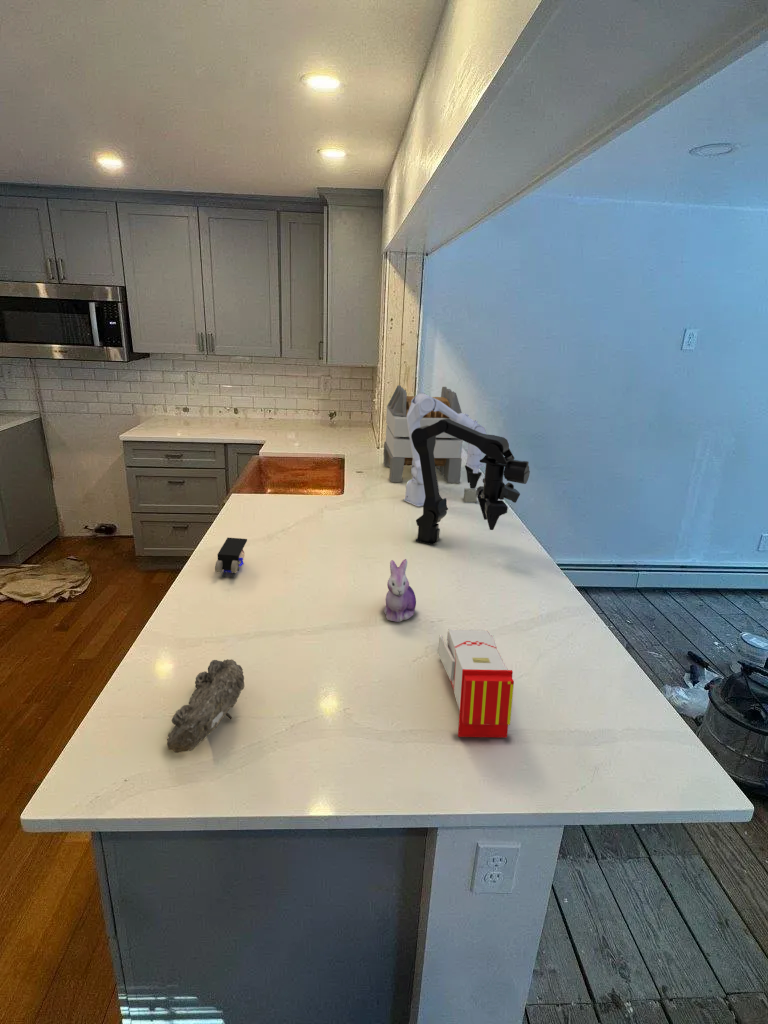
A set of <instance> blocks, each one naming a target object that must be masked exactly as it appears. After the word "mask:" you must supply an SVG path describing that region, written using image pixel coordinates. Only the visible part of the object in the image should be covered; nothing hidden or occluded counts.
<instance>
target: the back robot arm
mask: <svg viewBox="0 0 768 1024" xmlns="http://www.w3.org/2000/svg"><path fill="white" fill-rule="evenodd" d="M414 396H415V397H414V398H413V399H412V401H411V405H410V408H409V411H408V413H407V416H406V418H407V425H408V431H409V438H410V445H411V451H412V458H413V460H412V466H411V469H410V474H411V476H412V478H411V479H408V481H407V482H406V484H405V495H404V498H403V501H404V502H406V503H409V504H410V505H413V506H416V507H423V505H424V501H425V490H424V484H423V477H422V470H421V464H420V457H419V454H418V452H417V451H416V449H415V448H414V445H413V442H412V438H411V434H412V432H413V431H414V430H415V429H416V428H419V427H420V420H421V419H422V418H423V416H424V415H426V414H428V413H429V412H431V411H434V412H435V411H440V412H441V413H443V414H445V415H446V416H448V417H449V418H451V419H452V420H454V422H457V423H459V424H461V425H464V426H466V427H468V428H471V429H473V430H475V431H478V432H480V433H483V434H487V432H486V429H485V427H484V425H482V424H480V423H478V422H479V421H478V420H476V419H475V420H474V419H472V418H471V417H469V416H470V415H469V414H468V413H466V412H462V413H460V414H458V413H456V412H455V411H453V410H452V409H451V408H449V407H448V406H447V405H445V404H444V403H442V402H441V401H439V400H437V399H435V398H433V397H434V396H431V395H428V394H426V393H425V392H419V393H417V394H416V395H414ZM467 444H468V445H467V454H466V463H465V465H464V468H465V472H466V481H467V483H468V484H469V489H477V485H478V482H479V479H480V477H482V474H483V473H482V472H481V471H479V469H480V468H481V467H484V463H481V462H480V460H481V459H482V456H483V455H482V454H483V452H481V451H480V450H479V448H477V447H476V446H474V445H472V444H470V443H467Z"/></svg>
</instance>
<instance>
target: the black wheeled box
mask: <svg viewBox="0 0 768 1024" xmlns="http://www.w3.org/2000/svg"><path fill="white" fill-rule="evenodd" d="M247 542H248V538H240V537H226V539H225V541H224V543H223V544H222V546H221V547H220V549H219V551H218V552H217V560H216V562H215V564H214V572H215V573H221V577H222V578H224V577H225V576H226V574H227V573H230V574H231V573H232V574H231V578H234V577H235V575H236V573H237V572H239V571H240V567H242V566H243V565H244V564H245V562H244V558H245V551H244V547H245V546H246V544H247Z"/></svg>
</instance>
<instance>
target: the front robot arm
mask: <svg viewBox="0 0 768 1024" xmlns="http://www.w3.org/2000/svg"><path fill="white" fill-rule="evenodd" d="M443 432H444V433H447V434H449V435H451V436H454V437H456V438H458V439H460V440H462V441H463V442H465V443H467V444H468V443H470V444H472V445H474V446H476V447H477V448H479V450H480V451H481V452H482V454H484V456H483V458H481V460H480V462H481V464H485V470H484V477H483V478H482V483H483V486H482V485H479V486H478V487H476V490H477V492H476V494H477V501H478V504H479V508H480V511H481V514H482V517H483V520H485V521H487V525H488V530H489V531H493V530H494V529H495V527H496V525H497V524H498V523H497V522H498V521H499V518H500V517H501V516H503V515H505V514H508V509H509V506H508V505H507V504H506V502H505V501H504V500H505V499H506V500H508V501H511V502H512V503H514V504H516V503H517V502H518V499H519V497H520V495H521V493H520V491H518V490H517V489H516V488H515V485H514V484H513V483H517V484H523V485H526V484H527V483H528V482H529V481H528V480H529V478H530V474H531V471H530V466H529V460H519V459H515V456H514V453H512V451H511V449H510V444H509V442H508V441H509V440H508V439H507V438H505V437H503V436H500V435H495V434H487V433H486V434H483V433H480V432H478V431H475V430H473V429H471V428H468V427H466V426H464V425H461V424H459V423H457V422H454V421H452V420H451V419H449V418H445V419H442V420H440V421H438V422H437V423H435V424H432V425H430V426H429V425H426V426H423V427H419V428H416V429H415V430H414V431H413V432H412V434H411V438H412V442H413V445H414V448H415V449H416V451H417V452H418V454H419V457H420V464H421V470H422V477H423V484H424V490H425V501H424V505H423V506H422V514H421V516H419V517H418V518H416V520H415V524H416V526H417V538H416V539H415V542H417V543H421V544H425V545H430V546H435V544H436V543H437V542H438V541H439V540H440V532H441V528H439V526H440V524H439V522H441V520H442V519H444V518H445V517H446V516H447V513H448V510H449V507H448V505H447V503H448V502H447V500H448V499H447V498H446V497H444V498H443V497H442V495H441V494H440V490H439V483H438V476H437V466H435V460H434V448H435V444H436V436H437V435H439V434H441V433H443ZM504 480H506V481H507V483H506V484H505V482H504Z"/></svg>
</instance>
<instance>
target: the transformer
mask: <svg viewBox="0 0 768 1024" xmlns="http://www.w3.org/2000/svg"><path fill="white" fill-rule="evenodd" d="M440 393H441V394H440V396H432V397H433V398H435V399H437V400H439V401H441V402H442V403H444V404H445V405H447V406H448V407H449V408H451V409H452V410H453V411H455V412H456V413H458V414H460V413H463V411H462V408H461V405H460V402H459V398H458V395H457V392H455V391H453V390H452V389H451V388H447V386H442V387H441V392H440ZM407 394H408V393H407V390H406V389H404V388H403V387H402V385H399V384H398V385H397V386H396V388H395V390H394V392H393V394H392V395H391V398H390V400H389V402H388V404H387V405H386V413H385V414H386V415H385V423H386V428H385V438H384V442H383V466H384V467H388V468H389V475H388V476H389V477H388V478H389V480H390V482H391V483H402V482H403V475H404V469H405V466H406V467H407V466H411V467H412V460H413V458H412V451H411V445H410V438H409V431H408V425H407V418H406V416H407V413H408V411H409V408H410V405H411V401H412V399H413V398H414V397H415V396H416V395H414V396H413V395H412V396H411V395H407ZM445 418H449V417H448V416H446V415H445V414H443V413H441V412H440V411H435V412H434V411H431V412H429V413H428V414H426V415H424V416H423V418H422V419H421V420H420V427H423V426H426V425H429V426H430V425H432V424H435V423H437V422H438V421H440V420H442V419H445ZM449 419H451V418H449ZM451 420H452V419H451ZM452 421H454V420H452ZM463 442H464V441H463V440H460V439H458V438H456V437H454V436H451V435H449V434H447V433H444V432H443V433H441V434H439V435H437V436H436V444H435V448H434V460H435V467H436V469H437V470H438V469H439V473H440V474H441V475H443V478H444V479H445V481H446V482H447V483H449V484H455V483H456V484H459V483H461V472H462V461H463V460H462V453H463Z"/></svg>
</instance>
